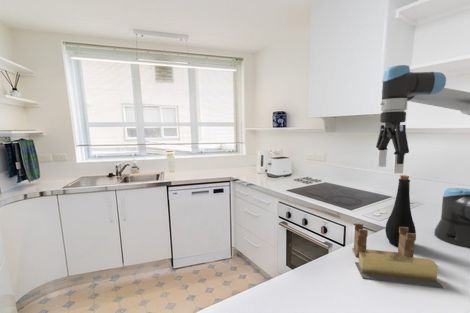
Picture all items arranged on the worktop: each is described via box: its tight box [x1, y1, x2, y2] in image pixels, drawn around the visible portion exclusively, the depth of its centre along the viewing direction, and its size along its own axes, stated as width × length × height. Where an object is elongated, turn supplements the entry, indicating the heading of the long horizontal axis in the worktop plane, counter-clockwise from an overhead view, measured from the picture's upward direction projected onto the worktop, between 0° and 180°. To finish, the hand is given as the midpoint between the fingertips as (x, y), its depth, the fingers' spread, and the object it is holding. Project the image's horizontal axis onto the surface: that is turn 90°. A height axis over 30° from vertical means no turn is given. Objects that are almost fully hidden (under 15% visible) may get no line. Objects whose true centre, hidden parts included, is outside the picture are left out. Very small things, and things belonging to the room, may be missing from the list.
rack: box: [351, 222, 417, 258], centre depth 89 cm, size 20×6×11 cm, turn 77°
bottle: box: [384, 174, 417, 248], centre depth 97 cm, size 11×11×30 cm
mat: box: [354, 261, 444, 289], centre depth 78 cm, size 23×9×1 cm, turn 77°
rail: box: [358, 252, 439, 282], centre depth 78 cm, size 22×4×6 cm, turn 77°
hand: (389, 169), depth 85 cm, fingers open, 13 cm apart
